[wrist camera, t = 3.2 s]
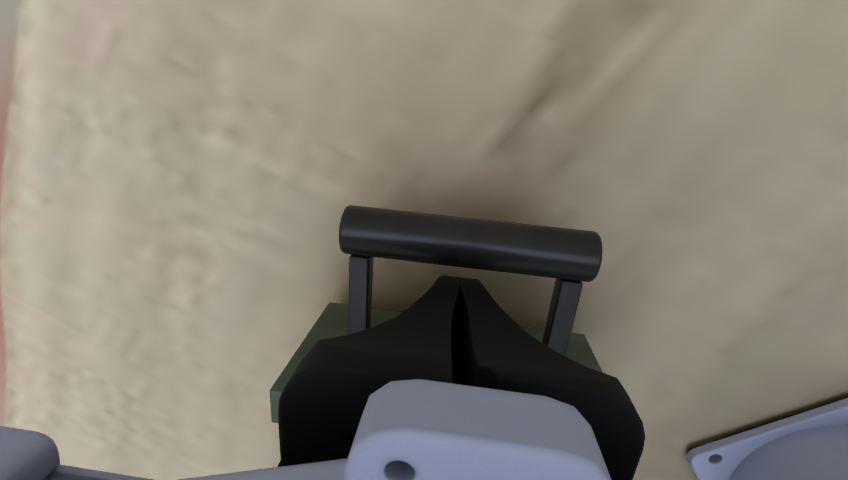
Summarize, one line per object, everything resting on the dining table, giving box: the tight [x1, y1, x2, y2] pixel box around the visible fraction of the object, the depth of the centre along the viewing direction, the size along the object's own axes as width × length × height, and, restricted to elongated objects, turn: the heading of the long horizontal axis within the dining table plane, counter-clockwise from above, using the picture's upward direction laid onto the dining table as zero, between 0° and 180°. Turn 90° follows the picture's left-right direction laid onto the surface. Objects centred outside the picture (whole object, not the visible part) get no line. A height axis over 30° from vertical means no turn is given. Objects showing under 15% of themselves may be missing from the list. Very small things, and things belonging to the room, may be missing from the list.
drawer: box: [270, 205, 603, 423], centre depth 14 cm, size 16×10×5 cm, turn 176°
